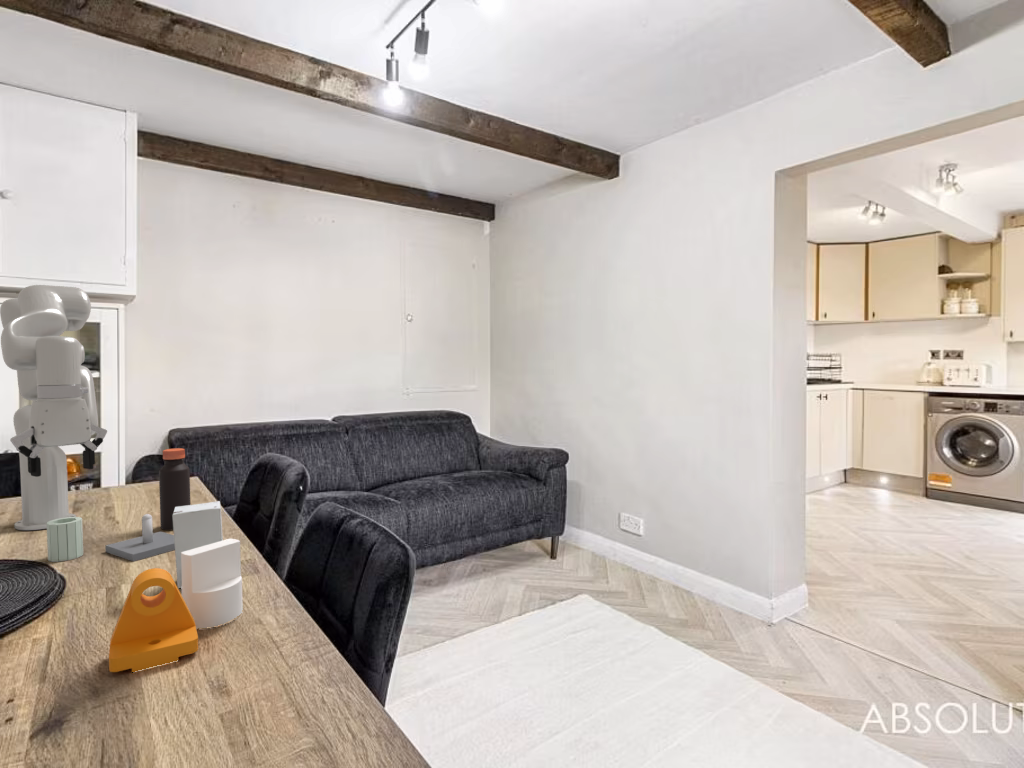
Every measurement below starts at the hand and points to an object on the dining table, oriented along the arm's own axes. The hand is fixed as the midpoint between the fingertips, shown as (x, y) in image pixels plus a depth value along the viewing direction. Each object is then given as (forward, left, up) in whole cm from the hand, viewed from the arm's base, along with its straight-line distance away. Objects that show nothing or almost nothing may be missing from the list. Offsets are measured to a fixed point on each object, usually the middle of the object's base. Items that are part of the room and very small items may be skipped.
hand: (62, 472), depth 126 cm
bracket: (+61, -13, -19) cm, 65 cm away
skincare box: (+39, +7, -19) cm, 44 cm away
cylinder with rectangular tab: (+56, -1, -19) cm, 59 cm away
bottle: (-2, +25, -19) cm, 32 cm away
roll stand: (+10, +12, -19) cm, 24 cm away
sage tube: (0, 0, -19) cm, 19 cm away
